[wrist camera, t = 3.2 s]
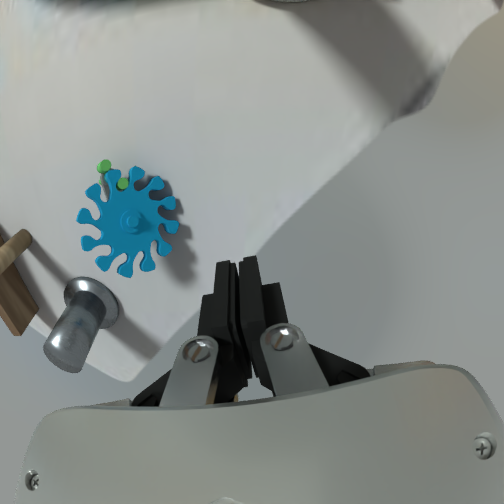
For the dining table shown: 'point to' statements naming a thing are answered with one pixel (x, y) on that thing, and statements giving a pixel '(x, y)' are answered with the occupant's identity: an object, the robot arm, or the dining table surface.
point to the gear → (127, 219)
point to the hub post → (80, 323)
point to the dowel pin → (14, 248)
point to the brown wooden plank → (15, 300)
